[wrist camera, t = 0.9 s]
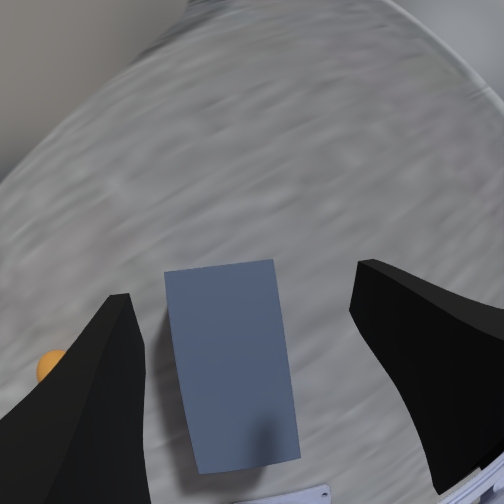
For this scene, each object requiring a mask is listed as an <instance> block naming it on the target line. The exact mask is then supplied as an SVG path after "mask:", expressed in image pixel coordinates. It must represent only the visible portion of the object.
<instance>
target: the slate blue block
mask: <svg viewBox="0 0 504 504" xmlns="http://www.w3.org/2000/svg"><path fill="white" fill-rule="evenodd" d="M164 277H165V286H166V295H167V303H168V312H169V319H170V327H171V334H172V341H173V347H174V354H175V360H176V366H177V372H178V378H179V384H180V389H181V395H182V400H183V405H184V410H185V415H186V420H187V425H188V429H189V434H190V438H191V443H192V447H193V451H194V456H195V460H196V464H197V468H198V472H199V474H209V473H219V472H227V471H235V470H242V469H248V468H255V467H260V466H266V465H271V464H276V463H281V462H286V461H290V460H295V459H299V458H301V455H300V447H299V439H298V431H297V423H296V415H295V408H294V400H293V393H292V385H291V378H290V371H289V363H288V356H287V349H286V342H285V335H284V328H283V321H282V315H281V308H280V301H279V294H278V288H277V281H276V275H275V268H274V262H273V259H270V260H262V261H253V262H245V263H237V264H229V265H221V266H212V267H204V268H195V269H187V270H178V271H170V272H164Z"/></svg>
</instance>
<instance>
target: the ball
mask: <svg viewBox="0 0 504 504" xmlns="http://www.w3.org/2000/svg"><path fill="white" fill-rule="evenodd" d="M65 353H66V352H65V351H61V350H54V351H50V352H48V353H46V354H45V355H44V356H43V357H42V358H41V359H40V361H39V363H38V366H37V379H38V382H39V383H40V382H41V381H42V380H43V379H44V378H45V377H46V375H47V374H48V373H49V372H50V371H51V370H52V369H53V367H54V366H55V365H56V364H57V363H58V362H59V360H60V359H61V358H62V357H63V355H64V354H65Z"/></svg>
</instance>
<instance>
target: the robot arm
mask: <svg viewBox="0 0 504 504" xmlns="http://www.w3.org/2000/svg"><path fill="white" fill-rule="evenodd" d="M349 312H350V314H351V316H352V318H353V320H354V322H355V324H356V326H357V328H358V330H359V332H360V334H361V335H362V337H363V338H364V340H365V341H366V343H367V344H368V346H369V347H370V349H371V350H372V352H373V353H374V355H375V356H376V357H377V359H378V360H379V362H380V363H381V365H382V366H383V368H384V369H385V371H386V372H387V373H388V375H389V376H390V378H391V379H392V381H393V382H394V384H395V386H396V387H397V389H398V391H399V393H400V395H401V397H402V399H403V401H404V403H405V405H406V407H407V409H408V411H409V413H410V415H411V418H412V420H413V422H414V425H415V427H416V430H417V432H418V435H419V437H420V440H421V443H422V446H423V449H424V452H425V455H426V458H427V462H428V465H429V469H430V473H431V477H432V482H433V487H434V488H435V490H436V492H437V493H438V495H441V494H442V493H444V492H445V491H447V490H448V489H450V488H451V487H453V486H454V485H456V484H457V483H459V482H460V481H461V480H463V479H464V478H465V477H467V476H468V475H469V474H471V473H472V472H473V471H475V470H476V469H477V468H479V467H480V469H481V470H482V471H481V472H480V473H479V474H477V475H476V476H475V477H473V478H472V479H471V480H469V481H468V482H467V483H465V484H464V485H463V486H461V487H460V488H459V489H457V490H456V491H454V492H453V493H451V494H450V495H449V496H447V497H446V498H444V499H443V500H441V501H440V502H438V503H436V504H471V503H472V502H473V501H475V500H476V499H477V498H478V497H480V496H481V497H480V502H479V503H478V504H504V309H500V308H496V307H492V306H489V305H485V304H482V303H479V302H476V301H473V300H471V299H468V298H465V297H462V296H460V295H457V294H455V293H452V292H450V291H448V290H445V289H443V288H440V287H438V286H436V285H434V284H431V283H429V282H427V281H425V280H423V279H420V278H418V277H416V276H414V275H412V274H409V273H407V272H405V271H403V270H401V269H398V268H396V267H394V266H391V265H389V264H386V263H384V262H381V261H378V260H375V259H370V260H363V261H358V265H357V271H356V276H355V282H354V287H353V293H352V298H351V303H350V308H349ZM145 377H146V369H145V347H144V342H143V338H142V335H141V332H140V329H139V326H138V322H137V319H136V316H135V312H134V309H133V305H132V302H131V298H130V295H129V293H125V294H117V295H110V296H109V297H108V298H107V299H106V301H105V302H104V303H103V304H102V306H101V307H100V308H99V310H98V311H97V313H96V314H95V315H94V317H93V318H92V319H91V321H90V322H89V323H88V325H87V326H86V327H85V329H84V330H83V331H82V333H81V334H80V335H79V337H78V338H77V339H76V341H75V342H74V343H73V344H72V345H71V347H70V348H69V349H68V350H67V352H66V353H65V354H64V355H63V357H62V358H61V359H60V360H59V362H58V363H57V364H56V365H55V366H54V367H53V369H52V370H51V371H50V372H49V373H48V374H47V375H46V377H45V378H44V379H43V380H42V381H41V382H40V383H39V384H38V385H37V386H36V387H35V388H34V389H33V390H32V391H31V392H30V393H29V394H28V395H27V396H26V397H25V398H24V399H23V400H22V401H21V402H19V403H18V404H17V405H16V406H15V407H14V408H13V409H12V410H11V411H10V412H9V413H8V414H7V415H5V416H4V417H3V418H2V419H1V420H0V504H151V500H150V494H149V488H148V482H147V476H146V468H145V460H144V451H143V414H144V394H145ZM323 493H326V494H325V495H322V494H323ZM233 504H331V497H330V488H329V486H328V485H326V484H324V485H320V486H316V487H312V488H308V489H305V490H300V491H296V492H292V493H288V494H283V495H278V496H273V497H268V498H263V499H257V500H251V501H244V502H237V503H233Z"/></svg>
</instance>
